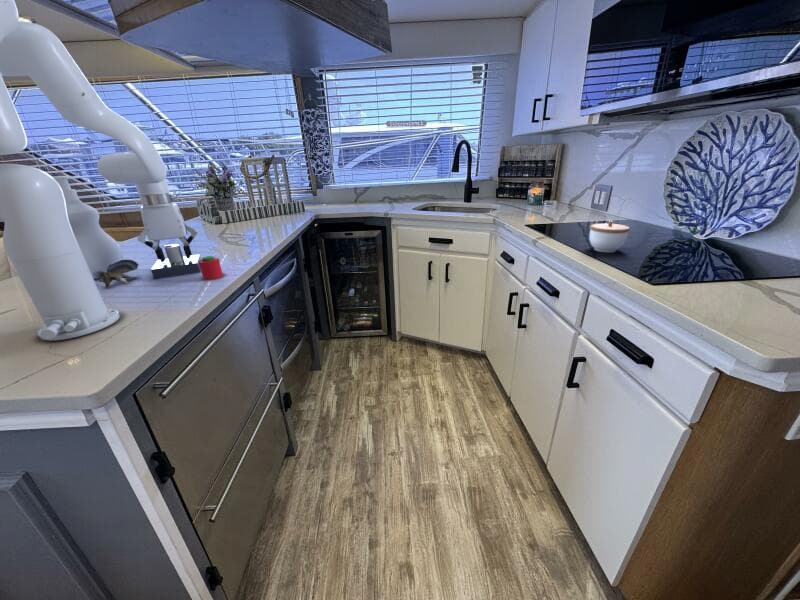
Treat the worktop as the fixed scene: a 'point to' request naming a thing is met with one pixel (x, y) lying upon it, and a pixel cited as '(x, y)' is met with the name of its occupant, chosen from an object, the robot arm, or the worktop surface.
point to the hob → (176, 267)
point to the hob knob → (174, 253)
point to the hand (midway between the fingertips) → (176, 258)
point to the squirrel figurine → (116, 272)
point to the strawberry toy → (210, 268)
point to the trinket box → (608, 236)
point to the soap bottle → (89, 231)
